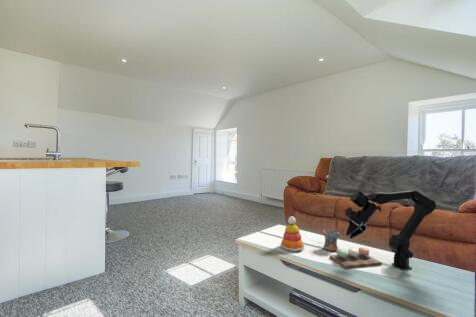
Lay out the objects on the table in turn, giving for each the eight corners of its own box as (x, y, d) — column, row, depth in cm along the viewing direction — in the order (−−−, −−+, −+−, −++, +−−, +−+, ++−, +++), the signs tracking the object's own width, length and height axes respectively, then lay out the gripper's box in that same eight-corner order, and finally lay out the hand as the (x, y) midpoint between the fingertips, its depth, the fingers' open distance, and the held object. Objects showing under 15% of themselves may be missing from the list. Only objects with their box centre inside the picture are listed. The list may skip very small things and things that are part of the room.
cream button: (353, 252, 131) (353, 248, 131) (360, 256, 126) (360, 251, 126) (346, 253, 130) (346, 248, 130) (352, 256, 125) (352, 252, 125)
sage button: (342, 253, 130) (342, 248, 130) (349, 256, 125) (349, 252, 125) (335, 253, 128) (335, 249, 128) (341, 257, 123) (341, 253, 123)
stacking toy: (309, 249, 142) (309, 217, 142) (293, 254, 134) (293, 220, 134) (291, 242, 154) (292, 213, 154) (275, 246, 146) (276, 215, 146)
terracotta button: (364, 251, 133) (364, 247, 133) (371, 255, 128) (371, 250, 128) (356, 252, 132) (356, 247, 132) (363, 255, 127) (363, 251, 127)
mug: (336, 253, 137) (336, 235, 137) (320, 249, 143) (320, 232, 143) (342, 247, 147) (342, 231, 147) (327, 244, 152) (327, 228, 153)
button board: (362, 255, 136) (363, 251, 136) (381, 265, 123) (381, 261, 123) (329, 258, 130) (329, 254, 130) (345, 268, 118) (345, 264, 118)
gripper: (355, 208, 134) (339, 230, 134) (348, 198, 121) (330, 222, 121) (374, 220, 127) (357, 243, 127) (369, 211, 113) (350, 237, 113)
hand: (348, 236), depth 122 cm, fingers open, 9 cm apart
